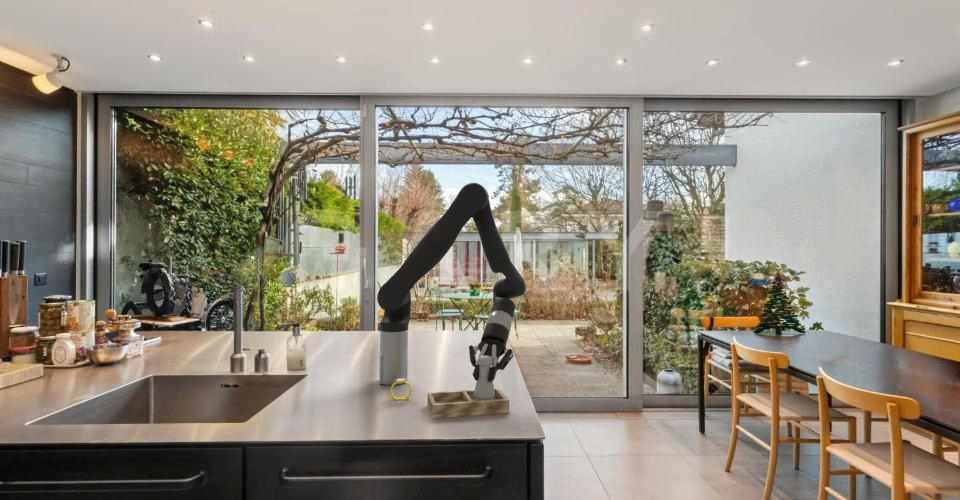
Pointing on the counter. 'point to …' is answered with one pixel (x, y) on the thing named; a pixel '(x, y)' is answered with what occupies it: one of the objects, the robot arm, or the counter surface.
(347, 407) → the counter surface
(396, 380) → the watch
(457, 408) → the tray
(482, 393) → the salt shaker
